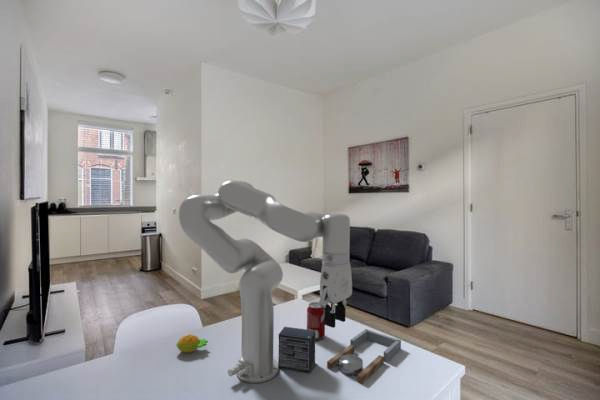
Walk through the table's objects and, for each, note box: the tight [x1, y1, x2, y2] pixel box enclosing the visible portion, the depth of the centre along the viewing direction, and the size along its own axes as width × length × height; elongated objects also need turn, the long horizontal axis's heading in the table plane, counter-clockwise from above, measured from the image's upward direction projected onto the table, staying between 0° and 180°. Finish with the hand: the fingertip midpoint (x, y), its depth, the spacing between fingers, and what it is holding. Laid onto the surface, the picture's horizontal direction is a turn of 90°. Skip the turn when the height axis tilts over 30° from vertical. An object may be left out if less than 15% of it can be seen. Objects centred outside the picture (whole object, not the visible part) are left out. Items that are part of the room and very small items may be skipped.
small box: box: [278, 326, 316, 374], centre depth 93 cm, size 11×6×10 cm, turn 74°
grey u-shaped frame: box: [349, 328, 402, 363], centre depth 104 cm, size 11×13×3 cm
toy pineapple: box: [175, 334, 209, 354], centre depth 101 cm, size 7×10×5 cm
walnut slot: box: [326, 344, 385, 385], centre depth 93 cm, size 14×12×2 cm
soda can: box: [306, 301, 326, 341], centre depth 112 cm, size 7×7×12 cm
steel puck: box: [338, 354, 364, 378], centre depth 91 cm, size 7×7×3 cm
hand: (335, 322), depth 84 cm, fingers open, 4 cm apart
